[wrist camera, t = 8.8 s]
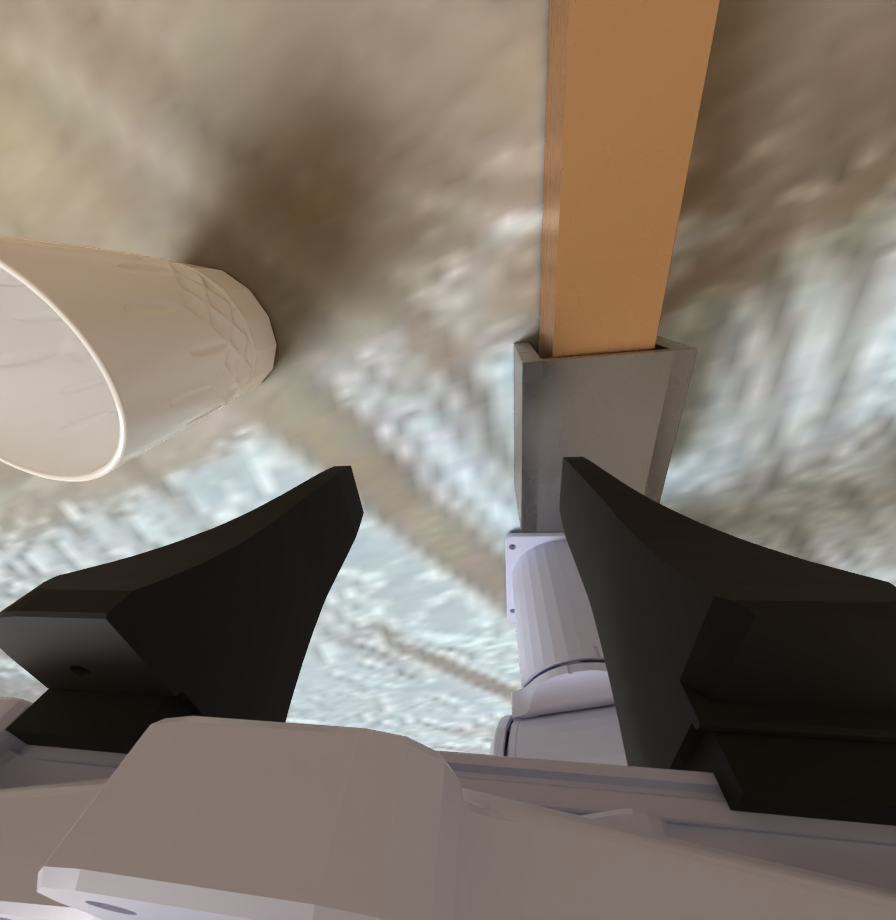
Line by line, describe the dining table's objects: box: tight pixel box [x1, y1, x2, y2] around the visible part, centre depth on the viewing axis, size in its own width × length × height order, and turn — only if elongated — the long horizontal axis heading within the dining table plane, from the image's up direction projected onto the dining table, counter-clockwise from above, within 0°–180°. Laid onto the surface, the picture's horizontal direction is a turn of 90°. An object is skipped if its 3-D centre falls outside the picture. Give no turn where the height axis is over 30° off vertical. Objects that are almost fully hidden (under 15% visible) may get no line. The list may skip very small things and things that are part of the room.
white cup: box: [0, 235, 276, 482], centre depth 15 cm, size 8×8×10 cm
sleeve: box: [514, 336, 697, 532], centre depth 17 cm, size 9×7×5 cm
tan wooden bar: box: [539, 0, 720, 359], centre depth 12 cm, size 16×4×4 cm, turn 6°
